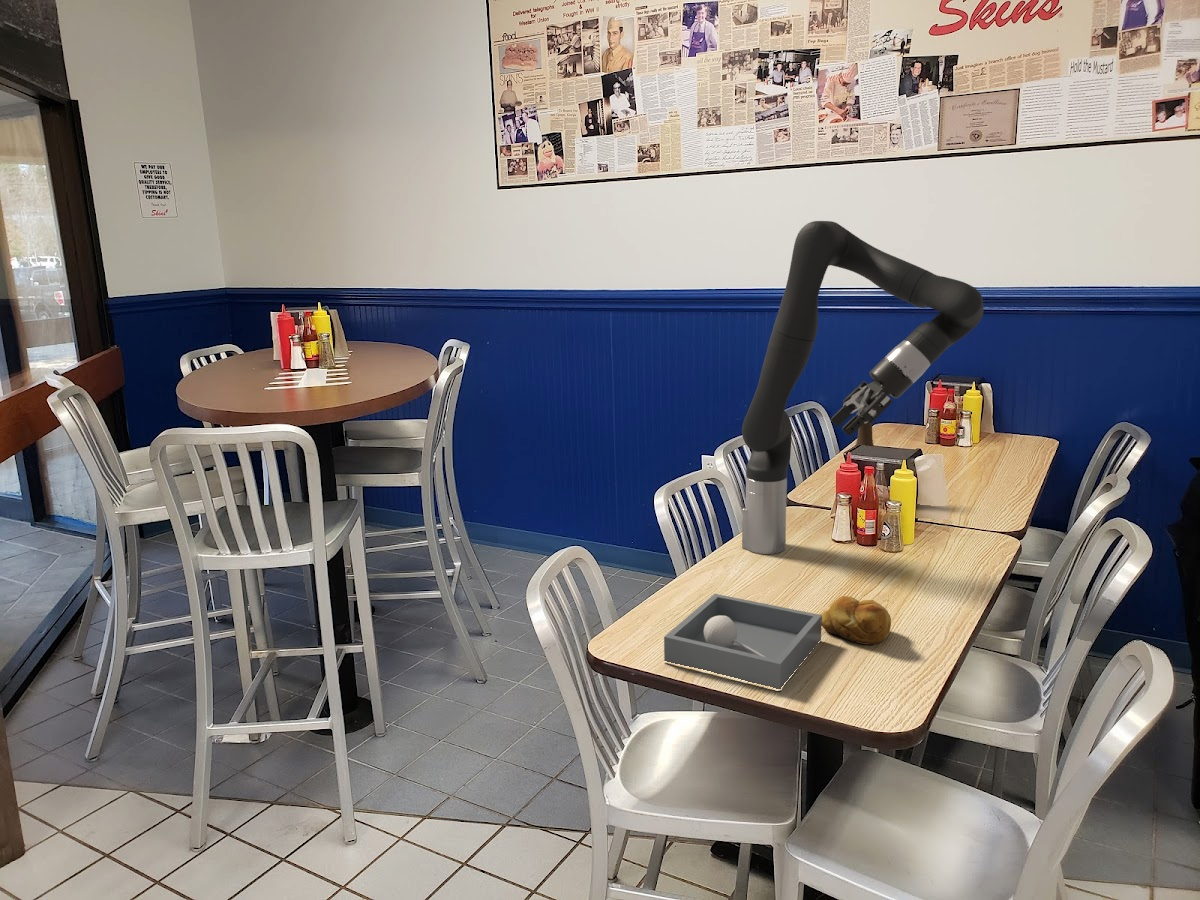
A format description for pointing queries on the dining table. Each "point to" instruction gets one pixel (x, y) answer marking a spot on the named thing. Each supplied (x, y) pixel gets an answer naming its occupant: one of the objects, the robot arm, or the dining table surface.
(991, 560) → the dining table surface
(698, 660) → the tray
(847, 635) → the bread roll
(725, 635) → the lollipop
